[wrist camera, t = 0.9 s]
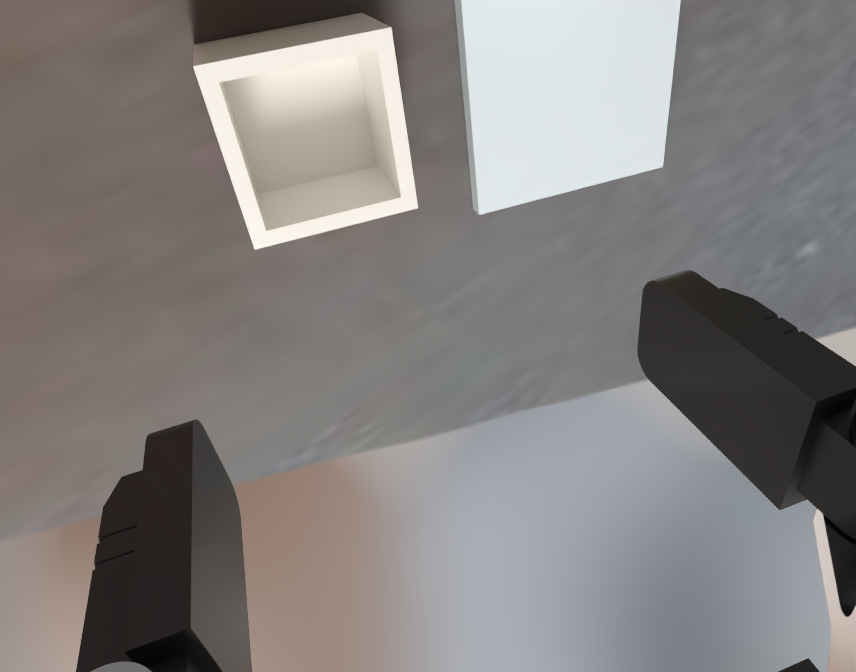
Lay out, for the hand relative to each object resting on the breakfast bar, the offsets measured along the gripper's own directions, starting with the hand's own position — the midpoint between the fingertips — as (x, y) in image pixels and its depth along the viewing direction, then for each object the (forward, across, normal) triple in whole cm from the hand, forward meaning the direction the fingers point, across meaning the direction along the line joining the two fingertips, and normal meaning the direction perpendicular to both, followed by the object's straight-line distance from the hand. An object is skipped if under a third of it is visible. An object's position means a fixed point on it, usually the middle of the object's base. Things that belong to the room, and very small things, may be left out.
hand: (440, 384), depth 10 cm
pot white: (+18, 0, 0) cm, 18 cm away
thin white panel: (+18, -12, +1) cm, 22 cm away
